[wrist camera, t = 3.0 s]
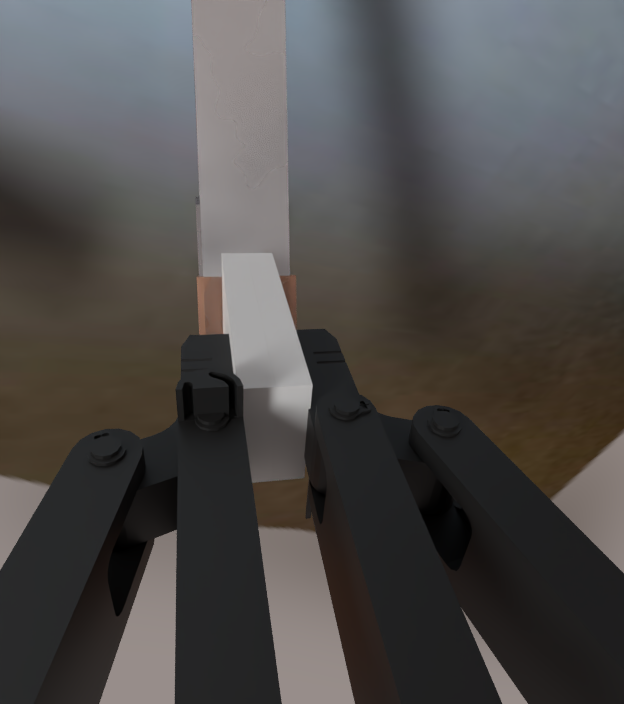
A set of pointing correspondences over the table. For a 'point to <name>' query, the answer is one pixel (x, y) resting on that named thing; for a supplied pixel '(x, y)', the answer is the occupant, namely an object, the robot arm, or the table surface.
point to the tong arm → (241, 142)
